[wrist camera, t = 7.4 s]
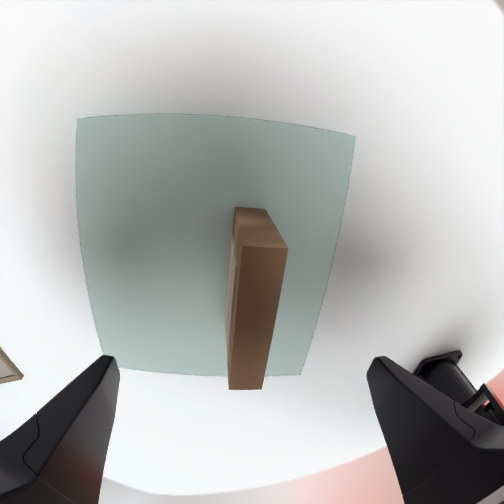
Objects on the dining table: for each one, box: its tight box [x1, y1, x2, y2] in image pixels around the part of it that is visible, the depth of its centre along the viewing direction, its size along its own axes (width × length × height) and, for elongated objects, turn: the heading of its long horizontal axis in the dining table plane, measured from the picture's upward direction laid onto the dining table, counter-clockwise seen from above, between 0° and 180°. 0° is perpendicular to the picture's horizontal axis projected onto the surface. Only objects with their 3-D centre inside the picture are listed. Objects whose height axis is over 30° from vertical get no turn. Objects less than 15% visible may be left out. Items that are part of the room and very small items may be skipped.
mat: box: [76, 114, 355, 376], centre depth 15 cm, size 14×16×1 cm
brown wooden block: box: [225, 207, 288, 390], centre depth 13 cm, size 2×7×5 cm, turn 174°
